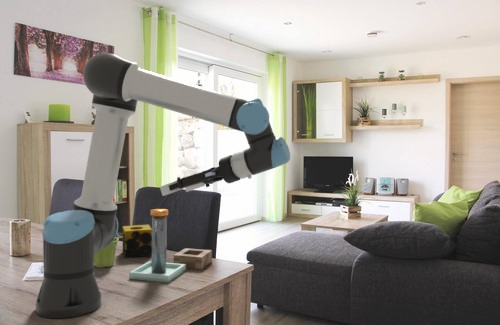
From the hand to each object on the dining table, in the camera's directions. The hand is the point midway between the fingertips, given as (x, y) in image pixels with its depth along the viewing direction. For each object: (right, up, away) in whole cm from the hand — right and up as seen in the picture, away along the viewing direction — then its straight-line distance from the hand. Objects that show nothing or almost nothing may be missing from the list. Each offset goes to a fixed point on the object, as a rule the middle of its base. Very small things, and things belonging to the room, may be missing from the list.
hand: (174, 189), depth 129 cm
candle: (-19, -26, +32) cm, 46 cm away
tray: (-6, -27, +7) cm, 29 cm away
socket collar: (+3, -27, +19) cm, 33 cm away
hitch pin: (-6, -26, +7) cm, 28 cm away
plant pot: (-26, -27, +17) cm, 41 cm away
